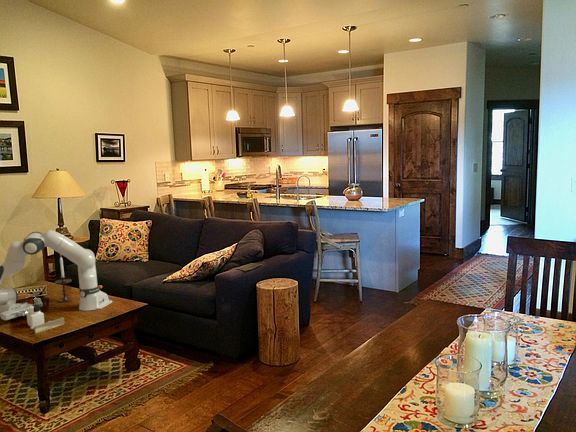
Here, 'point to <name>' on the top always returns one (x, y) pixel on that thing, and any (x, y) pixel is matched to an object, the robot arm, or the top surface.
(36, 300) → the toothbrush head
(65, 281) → the candlestick
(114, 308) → the top surface
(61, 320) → the beige flat block
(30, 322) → the medicine bottle
